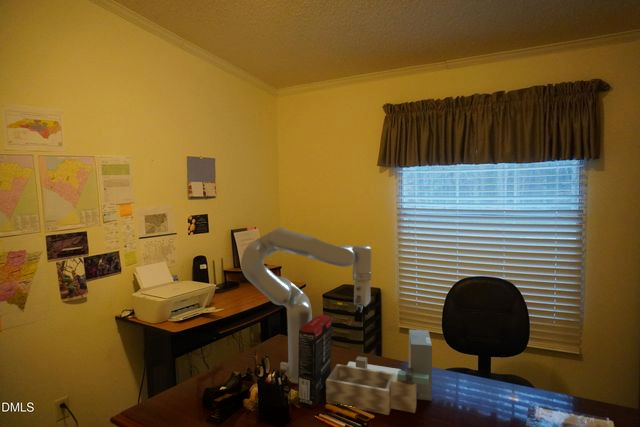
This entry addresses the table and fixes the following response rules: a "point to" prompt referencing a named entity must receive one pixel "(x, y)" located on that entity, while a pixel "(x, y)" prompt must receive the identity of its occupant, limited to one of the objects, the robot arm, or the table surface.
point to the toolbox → (371, 389)
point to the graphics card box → (314, 360)
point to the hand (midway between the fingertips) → (361, 317)
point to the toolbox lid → (362, 363)
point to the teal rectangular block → (414, 377)
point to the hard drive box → (421, 360)
